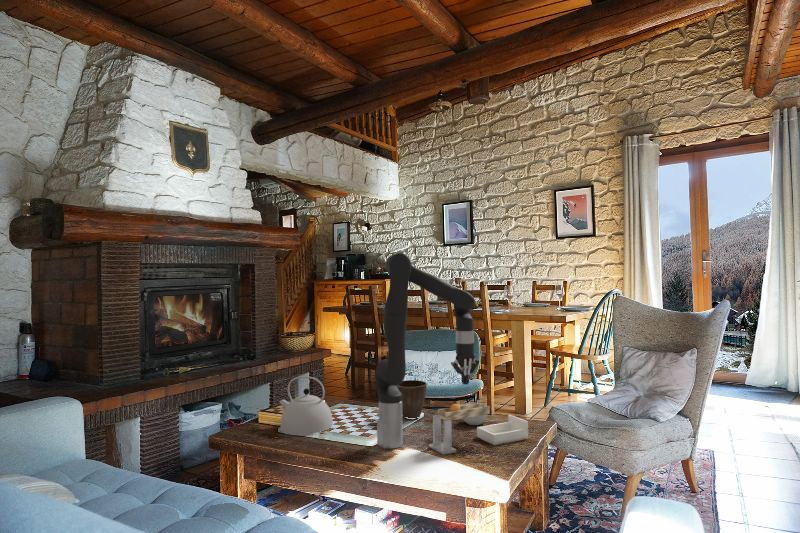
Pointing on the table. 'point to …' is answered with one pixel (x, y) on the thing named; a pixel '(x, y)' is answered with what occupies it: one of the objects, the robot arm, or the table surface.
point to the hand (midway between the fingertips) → (465, 384)
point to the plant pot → (412, 397)
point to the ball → (455, 407)
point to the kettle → (305, 413)
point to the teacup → (475, 417)
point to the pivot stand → (447, 436)
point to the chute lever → (463, 412)
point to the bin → (504, 431)
